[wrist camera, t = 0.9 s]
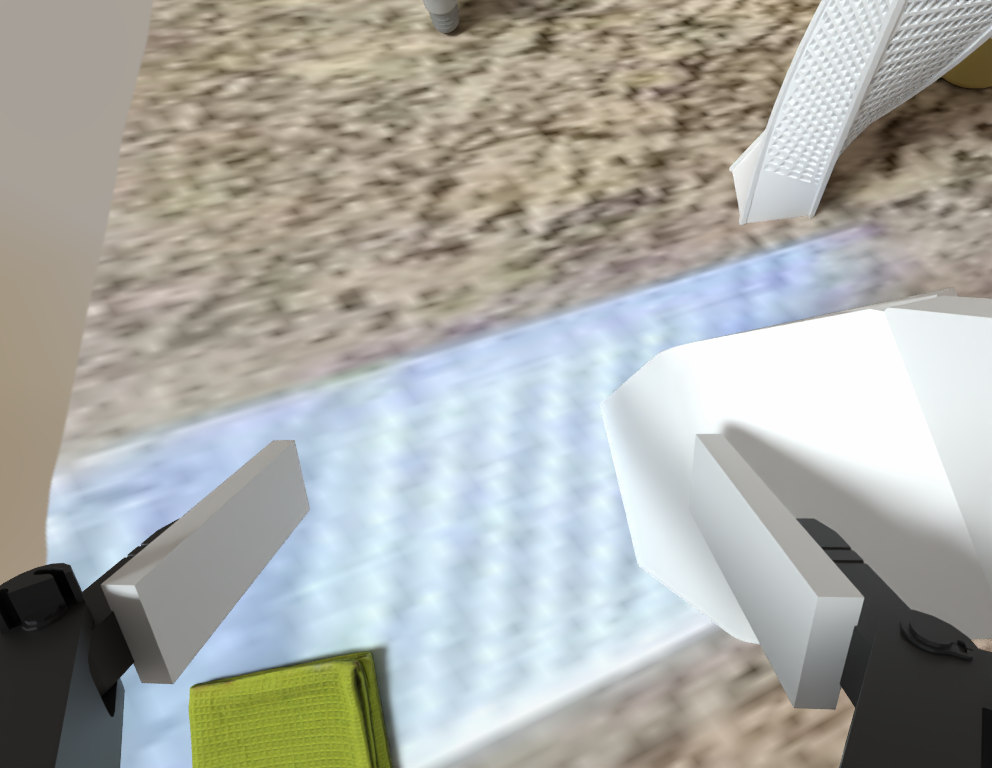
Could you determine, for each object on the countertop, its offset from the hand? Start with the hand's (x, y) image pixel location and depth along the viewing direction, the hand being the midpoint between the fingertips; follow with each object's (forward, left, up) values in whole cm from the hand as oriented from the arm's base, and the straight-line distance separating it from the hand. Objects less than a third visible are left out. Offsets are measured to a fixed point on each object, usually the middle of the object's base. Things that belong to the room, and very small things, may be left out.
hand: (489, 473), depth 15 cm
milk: (-3, -12, -21) cm, 24 cm away
